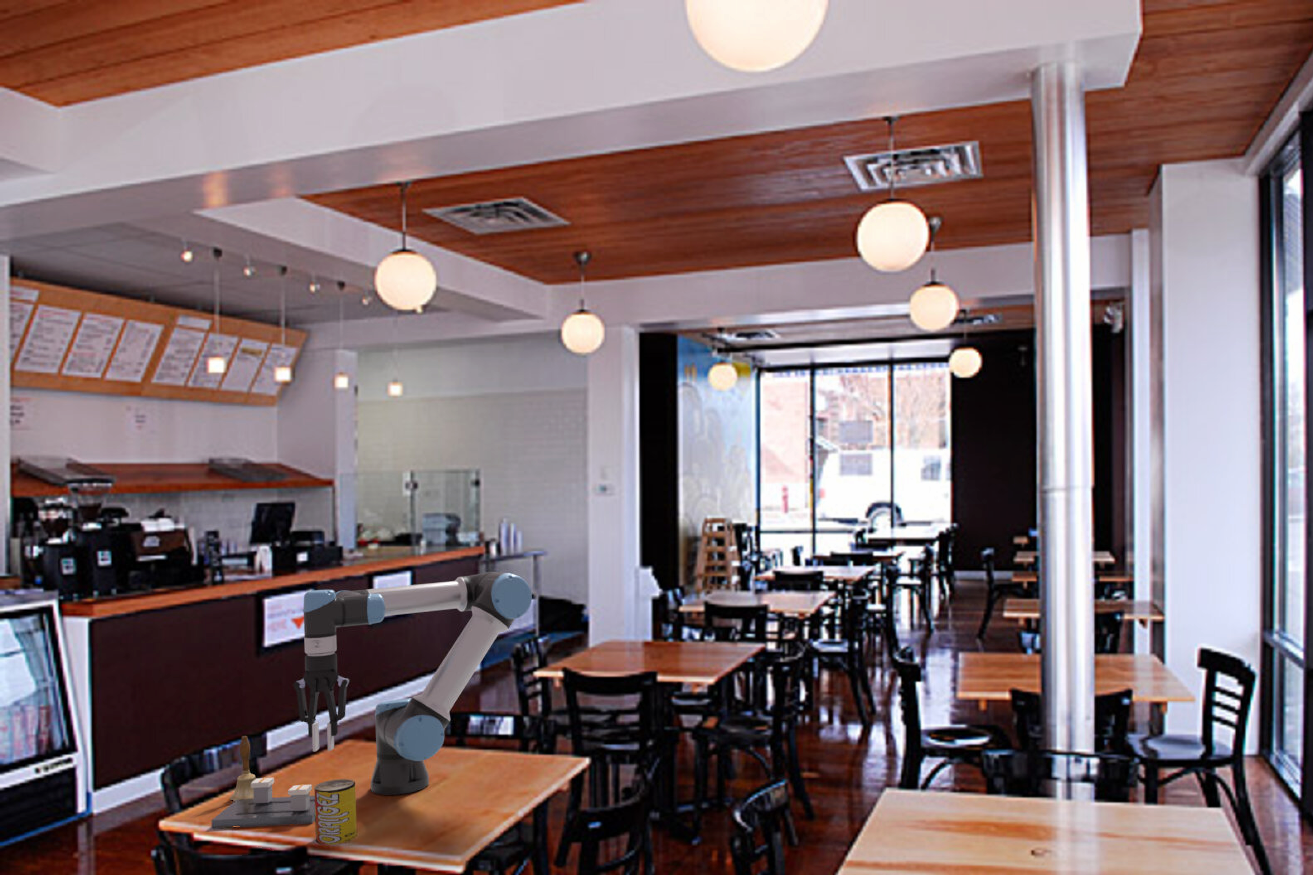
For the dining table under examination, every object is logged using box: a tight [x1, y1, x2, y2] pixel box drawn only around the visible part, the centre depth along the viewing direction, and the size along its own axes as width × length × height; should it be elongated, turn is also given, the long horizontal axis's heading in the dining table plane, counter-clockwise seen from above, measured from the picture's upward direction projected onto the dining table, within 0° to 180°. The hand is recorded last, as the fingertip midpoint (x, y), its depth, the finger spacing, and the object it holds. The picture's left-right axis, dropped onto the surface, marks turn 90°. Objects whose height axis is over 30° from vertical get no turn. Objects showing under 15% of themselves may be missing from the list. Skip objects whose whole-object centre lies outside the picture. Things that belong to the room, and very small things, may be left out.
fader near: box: [287, 783, 313, 811], centre depth 249 cm, size 4×4×5 cm
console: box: [211, 795, 315, 830], centre depth 252 cm, size 24×16×2 cm, turn 91°
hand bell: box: [229, 735, 257, 802], centre depth 269 cm, size 8×8×16 cm
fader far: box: [251, 776, 275, 803], centre depth 256 cm, size 4×4×5 cm
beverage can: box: [314, 778, 358, 846], centre depth 234 cm, size 9×9×12 cm
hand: (323, 749), depth 249 cm, fingers open, 3 cm apart
